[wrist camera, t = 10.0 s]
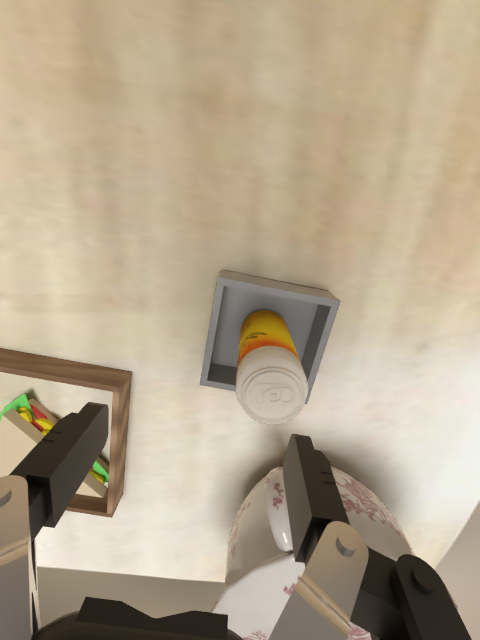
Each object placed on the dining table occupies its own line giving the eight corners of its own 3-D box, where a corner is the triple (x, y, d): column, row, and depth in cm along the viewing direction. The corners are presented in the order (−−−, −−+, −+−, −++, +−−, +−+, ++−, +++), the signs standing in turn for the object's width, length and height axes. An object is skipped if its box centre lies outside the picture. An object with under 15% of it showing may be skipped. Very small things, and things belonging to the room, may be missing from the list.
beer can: (238, 309, 36) (231, 366, 22) (286, 306, 35) (311, 361, 21) (242, 352, 38) (238, 430, 24) (287, 350, 37) (311, 426, 23)
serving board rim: (-42, 340, 39) (-74, 353, 35) (131, 371, 40) (119, 387, 36) (-22, 470, 46) (-46, 492, 43) (122, 494, 47) (112, 517, 44)
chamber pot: (344, 565, 52) (402, 769, 33) (203, 531, 50) (175, 728, 31) (419, 453, 43) (561, 643, 24) (251, 407, 41) (255, 573, 22)
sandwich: (84, 504, 49) (66, 533, 44) (-18, 440, 45) (-49, 466, 40) (136, 455, 45) (123, 482, 41) (30, 381, 41) (2, 402, 36)
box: (221, 269, 35) (217, 277, 30) (327, 290, 35) (340, 301, 30) (205, 365, 39) (199, 384, 34) (299, 382, 40) (306, 404, 35)
